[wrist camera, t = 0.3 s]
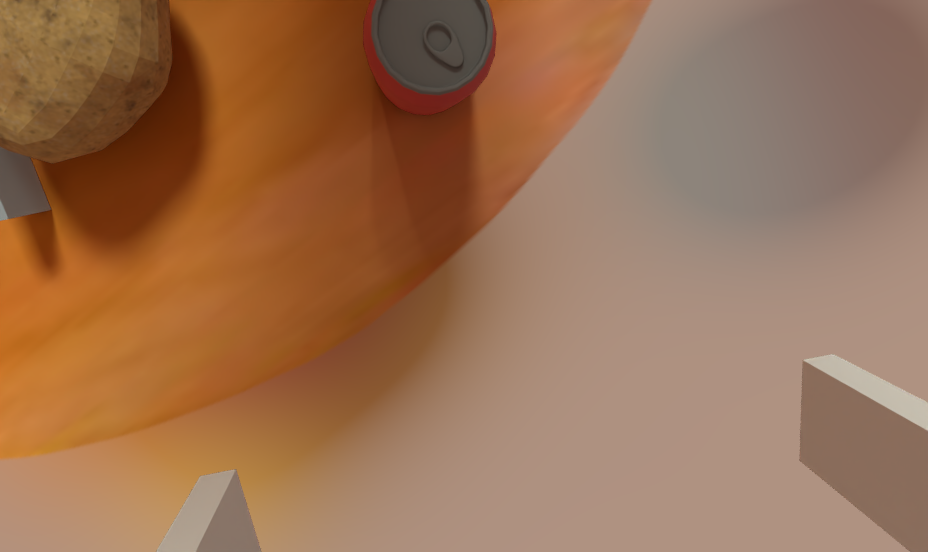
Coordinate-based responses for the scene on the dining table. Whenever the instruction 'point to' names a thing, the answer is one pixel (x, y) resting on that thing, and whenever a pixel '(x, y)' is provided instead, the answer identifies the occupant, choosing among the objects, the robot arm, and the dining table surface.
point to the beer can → (429, 50)
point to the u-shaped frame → (19, 187)
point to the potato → (78, 72)
